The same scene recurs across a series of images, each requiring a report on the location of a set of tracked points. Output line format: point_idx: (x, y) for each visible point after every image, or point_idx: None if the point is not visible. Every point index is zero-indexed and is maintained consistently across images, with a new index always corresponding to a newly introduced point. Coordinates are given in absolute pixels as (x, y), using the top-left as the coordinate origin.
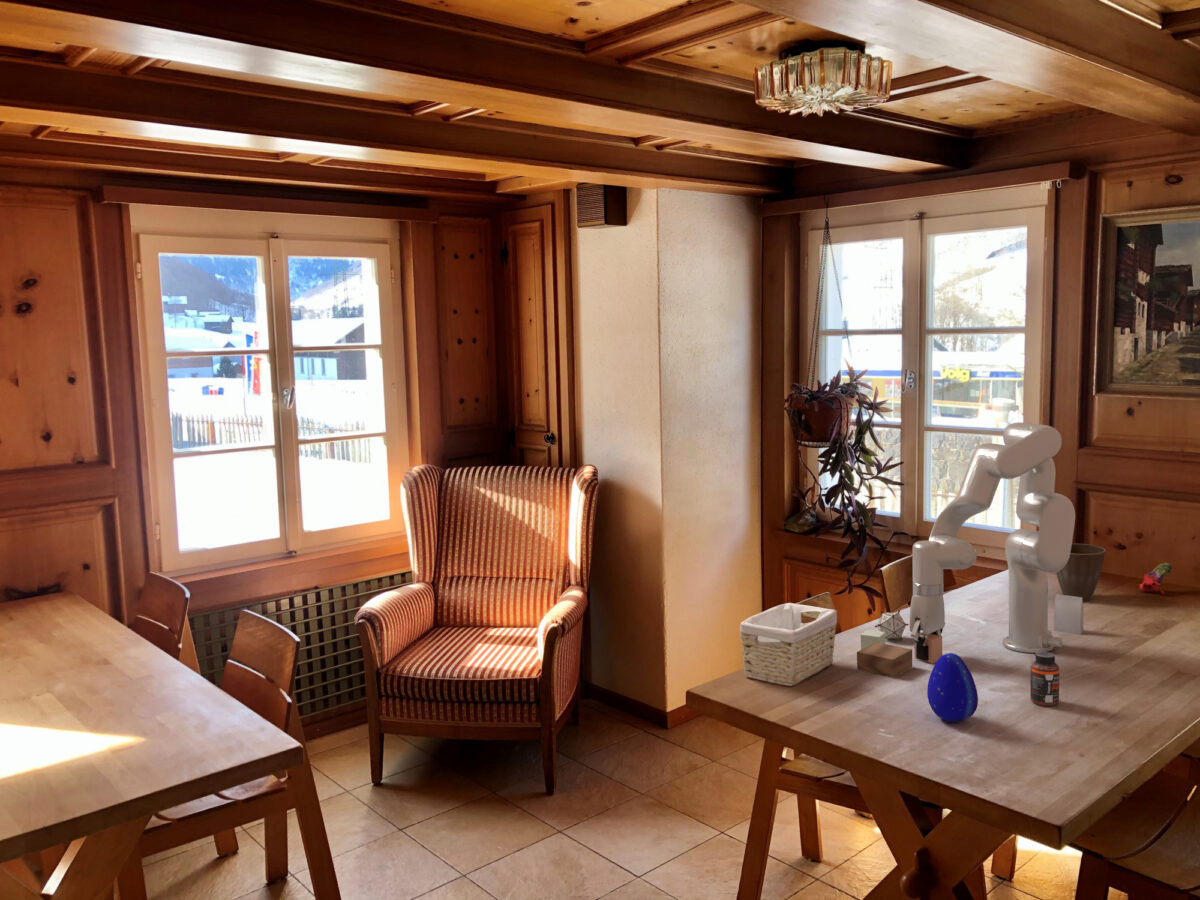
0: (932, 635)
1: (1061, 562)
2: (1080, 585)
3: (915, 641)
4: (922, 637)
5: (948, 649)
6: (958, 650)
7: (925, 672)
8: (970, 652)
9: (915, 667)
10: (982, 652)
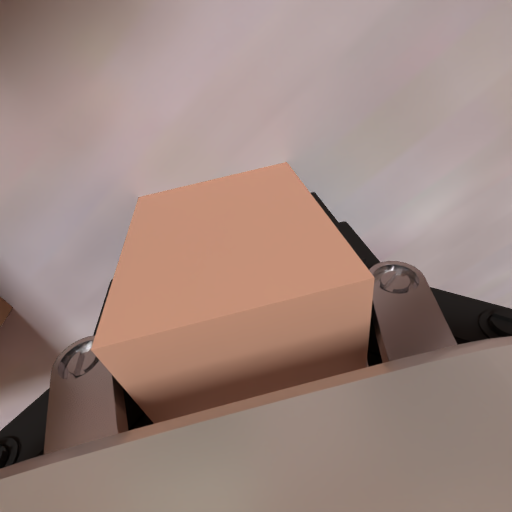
0: (319, 379)
1: None
2: None
3: (23, 414)
4: (170, 394)
5: (480, 177)
6: (485, 222)
7: (49, 376)
8: (477, 272)
9: (34, 314)
10: (500, 294)
